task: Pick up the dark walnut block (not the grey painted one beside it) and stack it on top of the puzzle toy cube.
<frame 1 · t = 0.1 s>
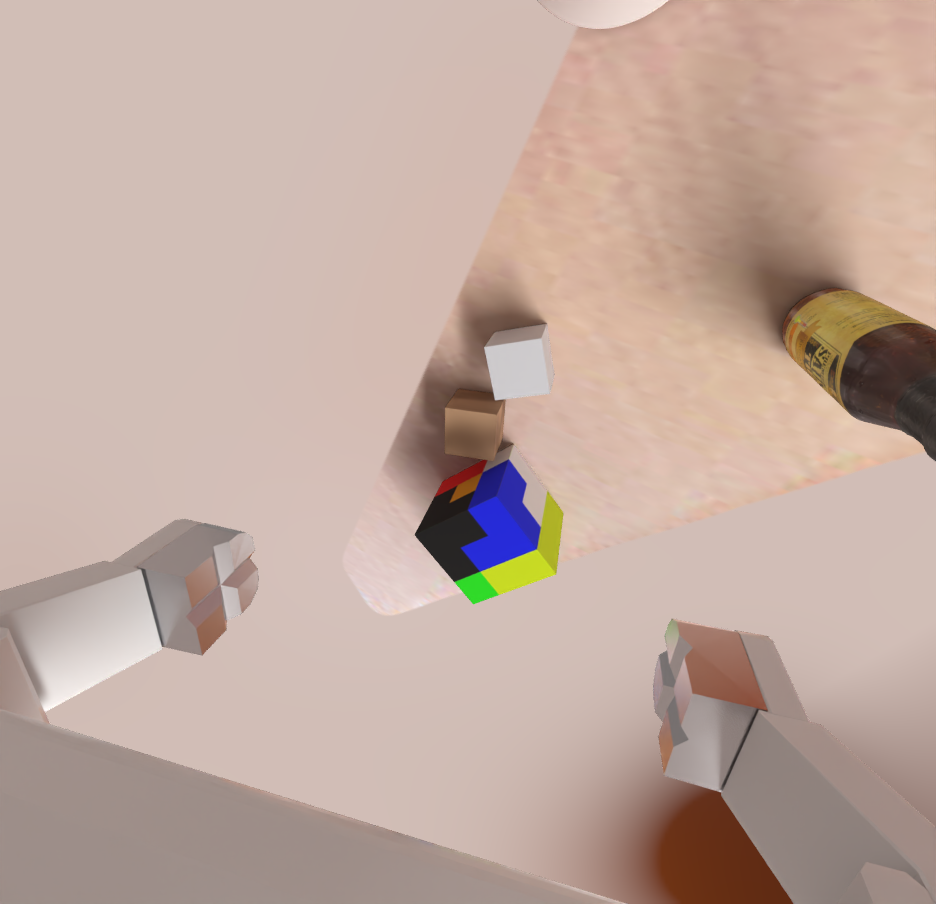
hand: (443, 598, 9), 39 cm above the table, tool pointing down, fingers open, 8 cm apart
grey block: (524, 353, 47), on the table
puzzle toy: (502, 495, 55), on the table
walnut block: (480, 413, 51), on the table
sauce bottle: (821, 325, 40), on the table
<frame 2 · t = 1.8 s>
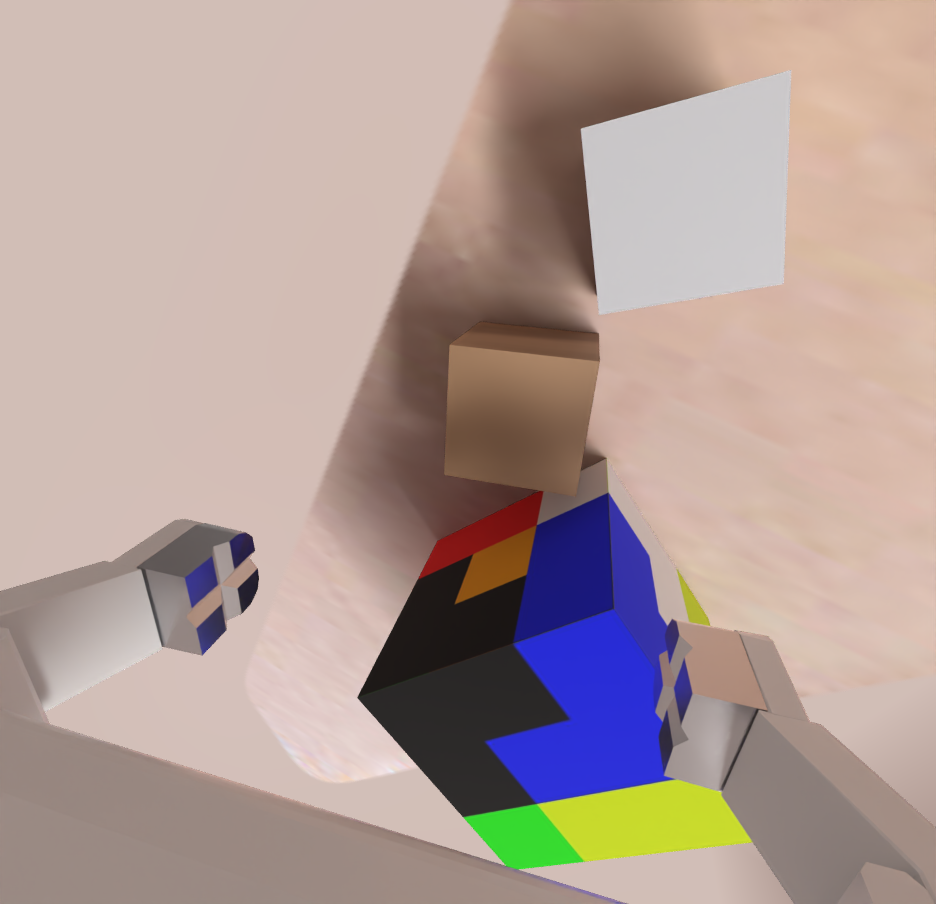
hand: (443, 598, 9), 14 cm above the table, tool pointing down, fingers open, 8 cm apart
grey block: (661, 213, 18), on the table
puzzle toy: (567, 574, 25), on the table
walnut block: (531, 384, 22), on the table
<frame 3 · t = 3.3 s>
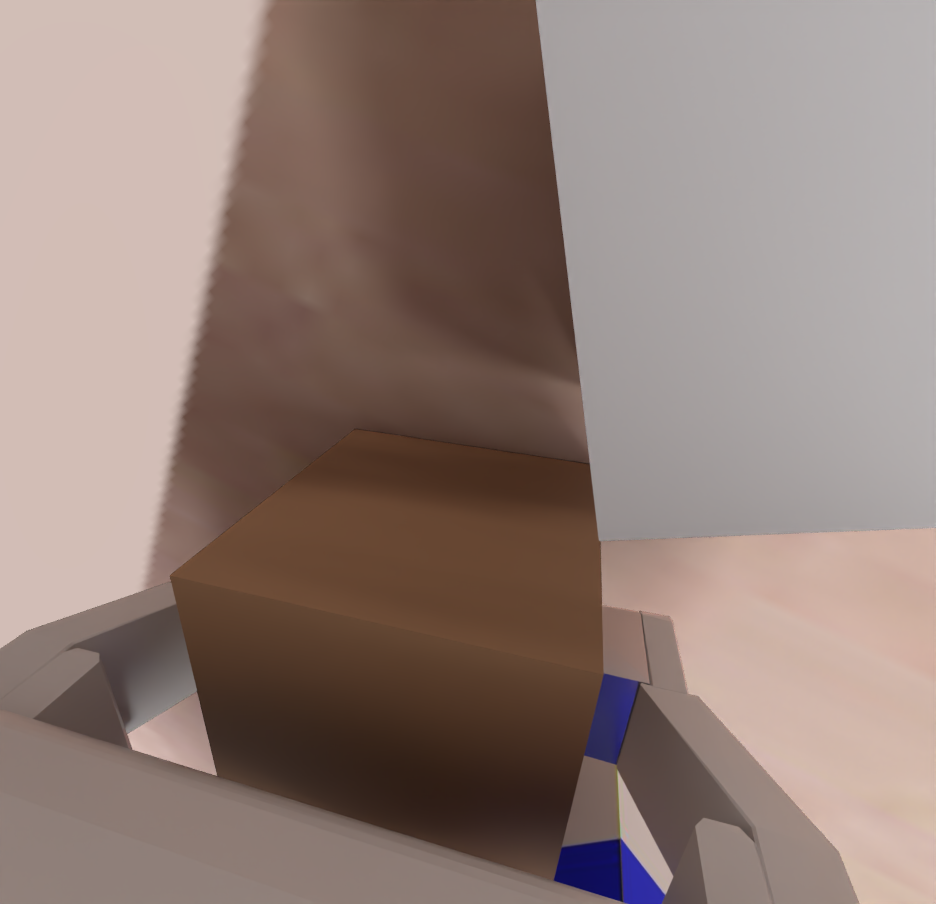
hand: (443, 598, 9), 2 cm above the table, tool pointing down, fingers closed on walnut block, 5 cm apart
grey block: (751, 205, 7), on the table
puzzle toy: (543, 838, 15), on the table
walnut block: (463, 549, 11), on the table, touching gripper
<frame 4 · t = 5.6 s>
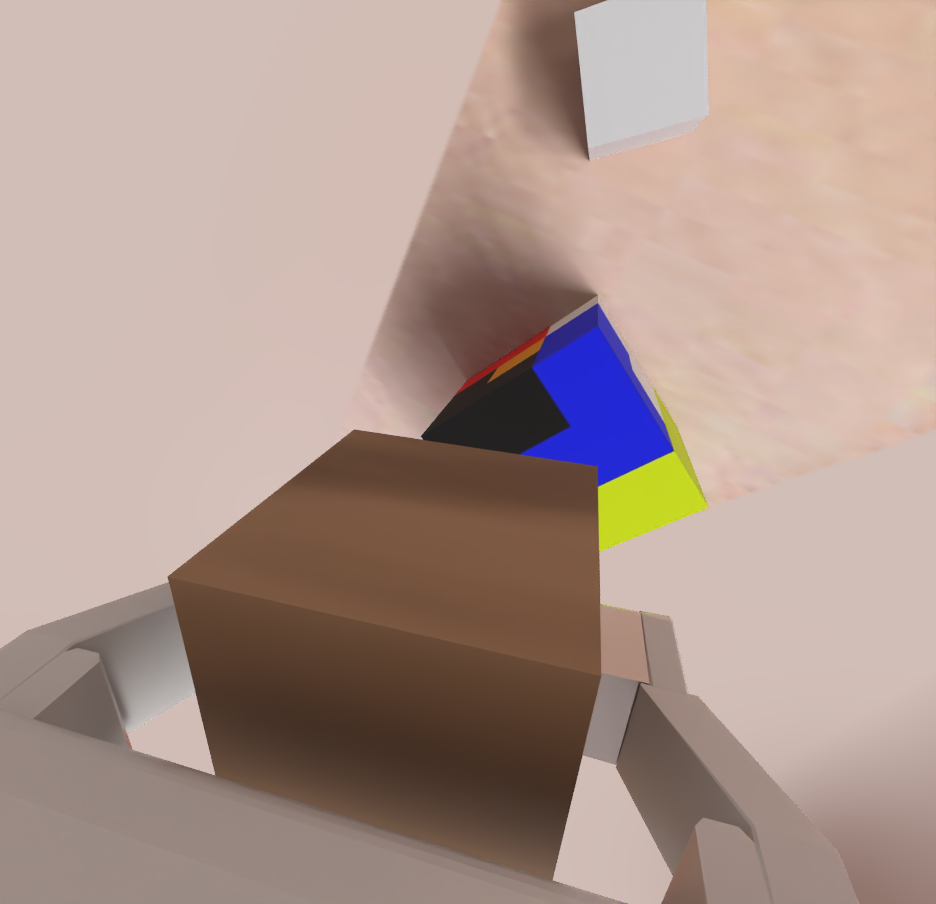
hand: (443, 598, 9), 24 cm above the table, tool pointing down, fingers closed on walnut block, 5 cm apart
grey block: (634, 92, 25), on the table
puzzle toy: (569, 402, 33), on the table
walnut block: (463, 550, 11), point 23 cm above the table, touching gripper
when the fingers open (13 cm above the table, at t = 7.9 s): walnut block drops 2 cm, resting on puzzle toy.
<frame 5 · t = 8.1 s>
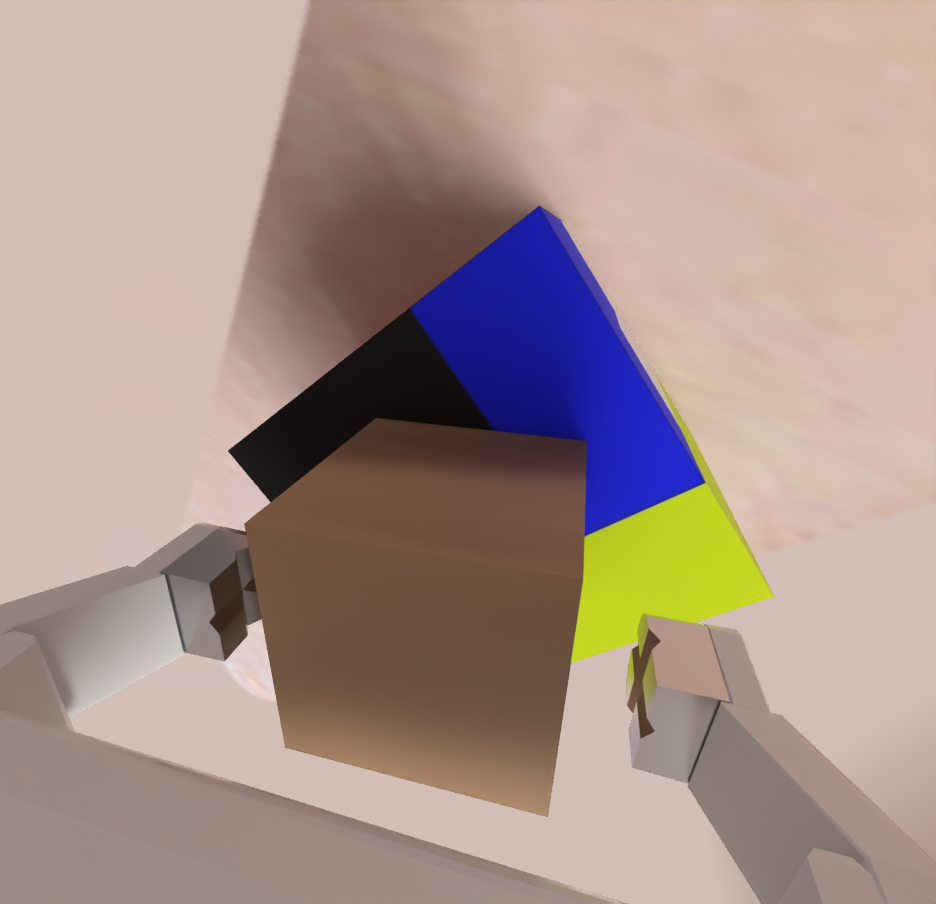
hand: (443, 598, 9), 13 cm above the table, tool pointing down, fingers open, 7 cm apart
puzzle toy: (527, 399, 21), on the table, touching walnut block
walnut block: (473, 521, 12), point 10 cm above the table, touching puzzle toy
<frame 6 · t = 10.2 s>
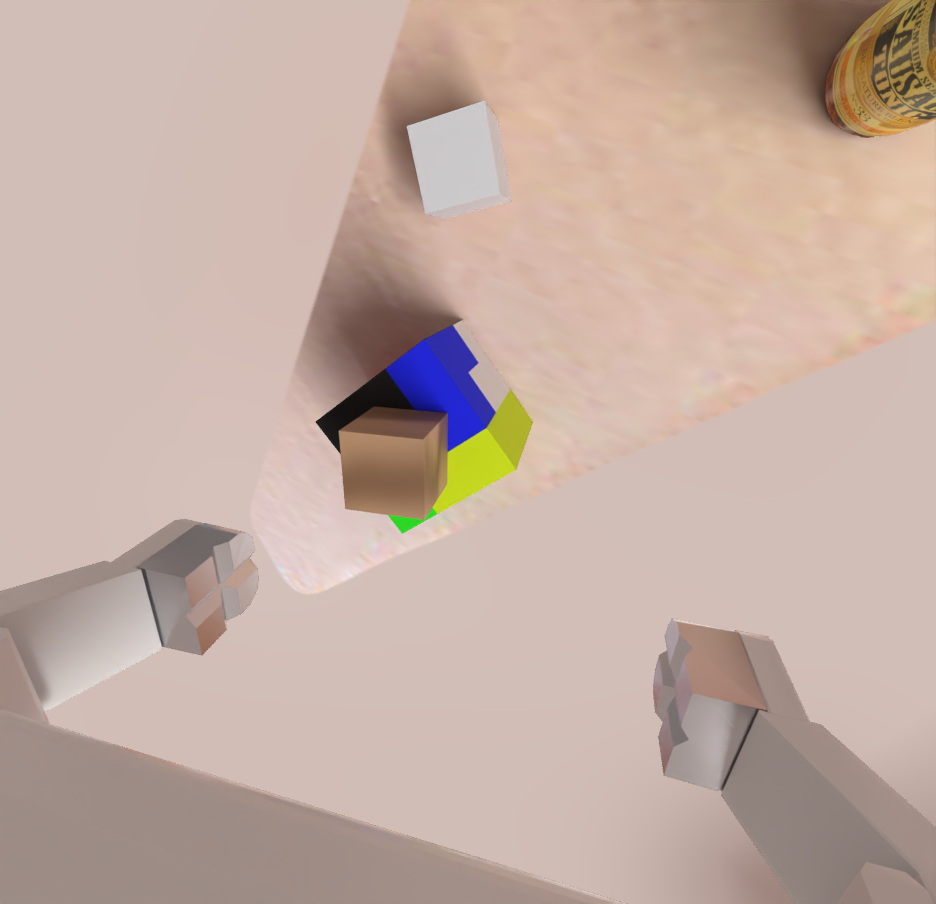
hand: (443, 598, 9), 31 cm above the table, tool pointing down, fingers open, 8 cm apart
grey block: (471, 172, 35), on the table
puzzle toy: (452, 403, 42), on the table, touching walnut block
walnut block: (411, 445, 32), point 10 cm above the table, touching puzzle toy
sauce bottle: (880, 83, 28), on the table
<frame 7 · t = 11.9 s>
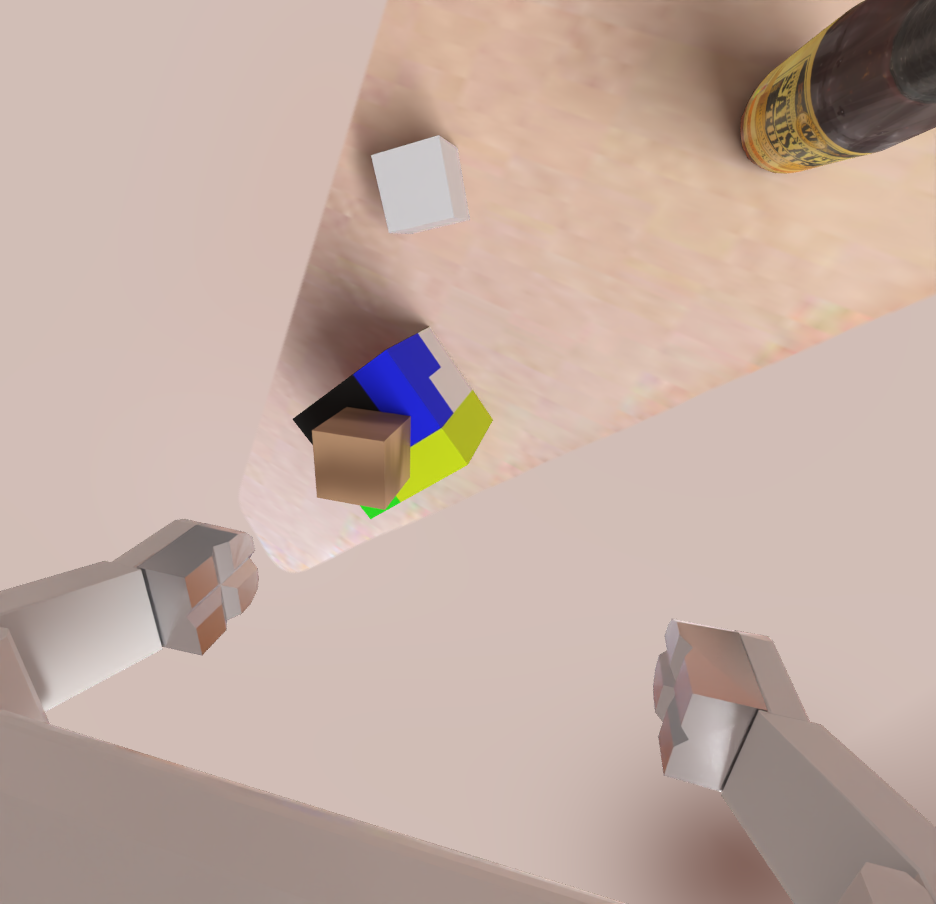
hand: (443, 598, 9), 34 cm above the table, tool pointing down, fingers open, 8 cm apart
grey block: (434, 192, 38), on the table
puzzle toy: (420, 401, 46), on the table, touching walnut block
walnut block: (378, 442, 37), point 10 cm above the table, touching puzzle toy
sauce bottle: (789, 124, 32), on the table
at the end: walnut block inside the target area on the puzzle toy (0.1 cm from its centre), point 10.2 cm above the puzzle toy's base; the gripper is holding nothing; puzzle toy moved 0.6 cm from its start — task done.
